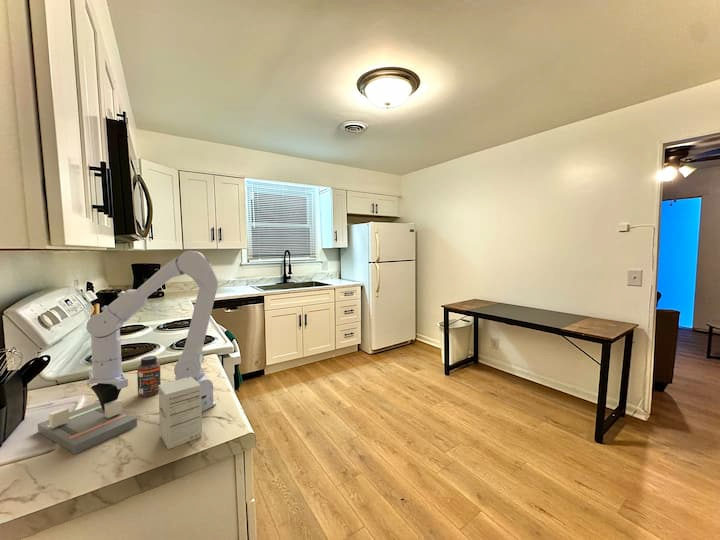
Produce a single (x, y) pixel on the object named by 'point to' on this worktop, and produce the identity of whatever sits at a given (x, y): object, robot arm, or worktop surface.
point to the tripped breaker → (113, 408)
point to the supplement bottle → (148, 376)
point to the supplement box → (180, 411)
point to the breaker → (59, 417)
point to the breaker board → (87, 428)
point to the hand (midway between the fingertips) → (109, 410)
